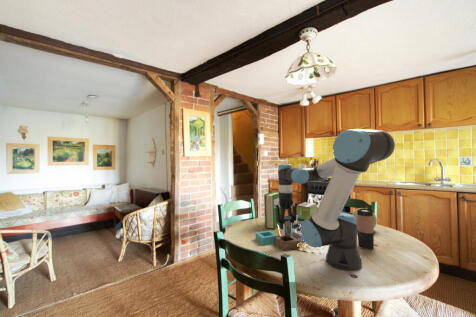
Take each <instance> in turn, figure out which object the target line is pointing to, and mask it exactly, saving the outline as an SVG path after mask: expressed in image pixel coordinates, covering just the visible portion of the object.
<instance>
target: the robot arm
mask: <svg viewBox="0 0 476 317" xmlns="http://www.w3.org/2000/svg"><path fill="white" fill-rule="evenodd" d="M332 144H333V145H332V150H333V152H332V153H333V156H334V157H332V158H331V159H329V160H326V161H325V162H322V163H320V164H319V165H317V166H313V167H300V168H299V167H298V168H297V167H293V165H292V164H291V163H281V164H280V163H279V165H278V166H277V168H278V169H277V180H278V191H279V203H278V204H275V205H274V206H275V209H276V221H277V222H278V223H280V227H279V229H280V233H281V236H285V224H284V223H283V222H284V215H286V211H287V215H289V216H291V219H290V231H291V236H293V229H294V223H295V222H296V221H297V205H298V203H297V202H295V201H293V200H294V197H293V196H294V195H293V188H294V187H293V183H295V184H306V183H315V182H323V181H326V180H328V178H330V179H329V181H328V184H327V186H326V188H325V191H324V194H323V195H322V197H321V201H320V203H319V204H318V207H317V210H315V211H313V212H312V214H311V216H310V219H309V220H305V221H303V222H302V224H301V226H300V231H301V235H302V237H303V238H302V239H303V240H304V242H305V243H306V244H307V245H308V246H310V247H311V248H322V247H324V246H328V249H327V253H326V255H325V261H326V263H327V264H328V265H329V266H331V267H333V268H336V269H339V270H344V271H357V270H360V269H361V268H362V266H363V260H362V257H361V255H360V253H359V249H358V228H357V224H356V218H355V216H353V215H352V213H349V212H348V213H346V212H343V209H344V207H345V205H346V203H347V202H348V199H349V197H350V195H351V193H352V191H353V189H354V187H355V185H356V183H357V182H358V179H359V176H360V175H361V174H362V173H363V174H365V173H366V172H368V169H369V167H370V165H373V164H375V163H379V162H382V161H385V160H387V159H388V158H390V157H391V156H392V155H393V153H394V151H395V148H396V147H395V146H396V142H395V139H394V138H393V136H392V135H391V134H390V133H388V132H387V131H386V130H385V131H384V130H381V129H364V128H363V129H362V128H353V129H352V128H350V129H346V130H343V131H342V132H340V133H339V134H338V135H337V136H336V138H335V139H334V141H333V143H332ZM280 206H281V213H280V209H279V208H280Z"/></svg>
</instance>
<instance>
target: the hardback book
mask: <svg viewBox="0 0 476 317" xmlns="http://www.w3.org/2000/svg"><path fill="white" fill-rule="evenodd" d="M263 199H264V200H263V201H264V202H263V203H264V228H265V229H273V230H274V231H275V230H277V229H278V228H277V224H278V225H279V228H280V223H278V222H277V221H276V209H275V206H274V205H275V204H278V203H279V190H275V191H272V192H268V193H264V195H263ZM279 209H280V213H281V206H280V208H279ZM273 230H272V231H273Z"/></svg>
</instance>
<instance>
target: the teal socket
mask: <svg viewBox="0 0 476 317" xmlns="http://www.w3.org/2000/svg"><path fill="white" fill-rule="evenodd" d="M277 236H279V235H278V234H277V233H275V232H273V230H263V231H258V232H255V241H257V242H258V243H260V245H262V246H266V245H272V244H274V245H275V237H277Z"/></svg>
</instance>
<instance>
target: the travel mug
mask: <svg viewBox="0 0 476 317" xmlns="http://www.w3.org/2000/svg"><path fill="white" fill-rule="evenodd" d="M358 209H359V208H358ZM373 213H374V210H372V209H369V208H367V209H366V208H364V209H359V210H357V225H358V228H357V245H358V247H359V248H361V249H364V250H373V249H374V248H375V246H374V245H375V244H374V243H375V242H374V241H375V238H374V237H375V234H374V233H375V232H374V231H375V230H374V228H375V227H374V226H373Z"/></svg>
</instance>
